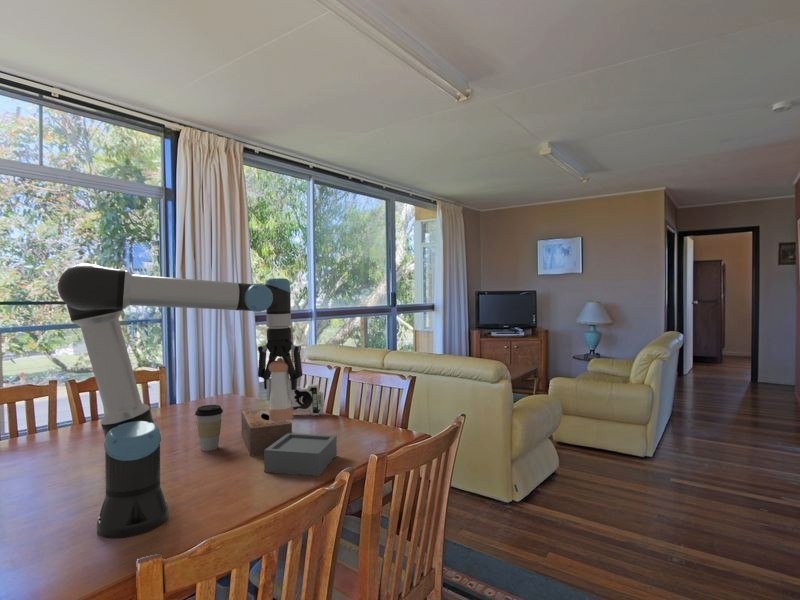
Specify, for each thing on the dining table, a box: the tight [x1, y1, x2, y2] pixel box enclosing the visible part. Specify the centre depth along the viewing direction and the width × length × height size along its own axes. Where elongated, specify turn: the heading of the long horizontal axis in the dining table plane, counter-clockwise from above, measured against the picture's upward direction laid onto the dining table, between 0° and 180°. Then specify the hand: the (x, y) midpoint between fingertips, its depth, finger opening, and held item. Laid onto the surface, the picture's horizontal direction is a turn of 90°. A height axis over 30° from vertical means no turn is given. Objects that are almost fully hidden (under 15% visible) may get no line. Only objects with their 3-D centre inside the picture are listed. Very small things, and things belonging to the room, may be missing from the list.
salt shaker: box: [268, 357, 294, 421], centre depth 143 cm, size 7×7×19 cm
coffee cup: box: [194, 404, 224, 452], centre depth 165 cm, size 9×9×15 cm
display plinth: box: [263, 432, 338, 477], centre depth 150 cm, size 18×18×7 cm
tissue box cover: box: [241, 407, 293, 457], centre depth 172 cm, size 26×14×10 cm, turn 26°
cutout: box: [268, 383, 325, 416], centre depth 210 cm, size 15×3×25 cm
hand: (280, 399), depth 144 cm, fingers closed on salt shaker, 7 cm apart
